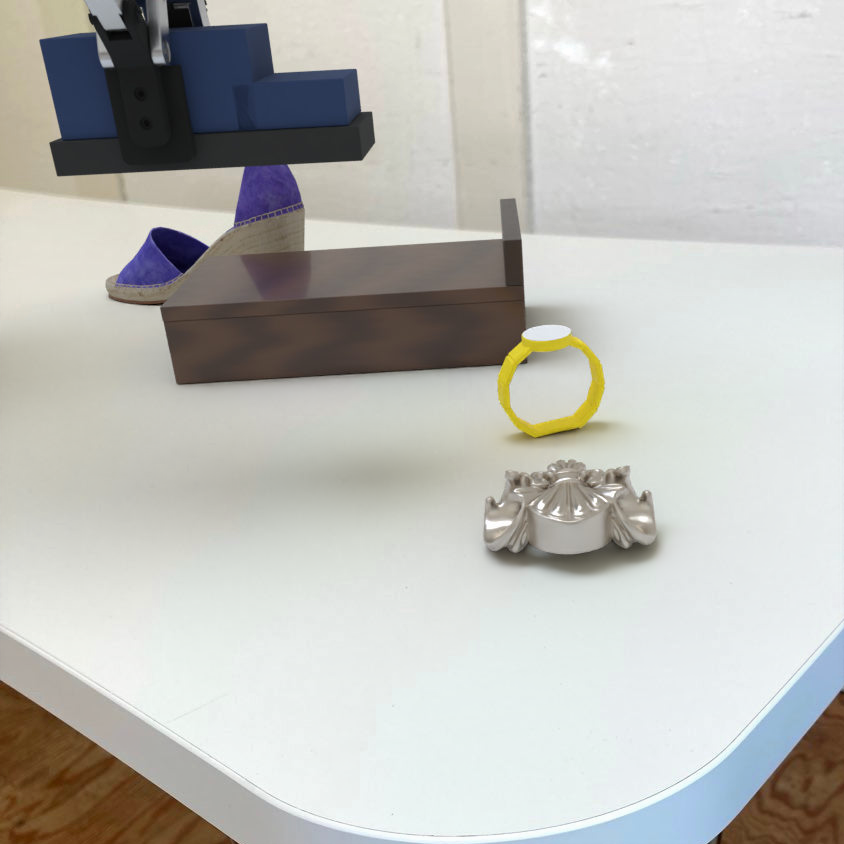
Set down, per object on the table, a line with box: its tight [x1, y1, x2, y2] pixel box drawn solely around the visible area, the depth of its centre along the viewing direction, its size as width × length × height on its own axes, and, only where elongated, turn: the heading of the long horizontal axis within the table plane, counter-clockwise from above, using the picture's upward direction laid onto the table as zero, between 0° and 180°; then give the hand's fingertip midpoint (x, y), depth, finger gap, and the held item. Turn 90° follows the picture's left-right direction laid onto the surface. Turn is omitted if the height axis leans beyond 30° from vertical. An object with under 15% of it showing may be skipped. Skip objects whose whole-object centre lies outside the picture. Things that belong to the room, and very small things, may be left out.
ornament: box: [482, 458, 658, 555], centre depth 49 cm, size 8×7×4 cm
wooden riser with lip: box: [159, 197, 529, 385], centre depth 76 cm, size 24×14×8 cm, turn 91°
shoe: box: [38, 22, 376, 177], centre depth 49 cm, size 14×6×6 cm, turn 90°
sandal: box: [105, 165, 306, 305], centre depth 89 cm, size 8×20×15 cm, turn 64°
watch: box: [496, 324, 606, 439], centre depth 60 cm, size 6×3×6 cm, turn 106°
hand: (179, 147), depth 51 cm, fingers closed on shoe, 5 cm apart
